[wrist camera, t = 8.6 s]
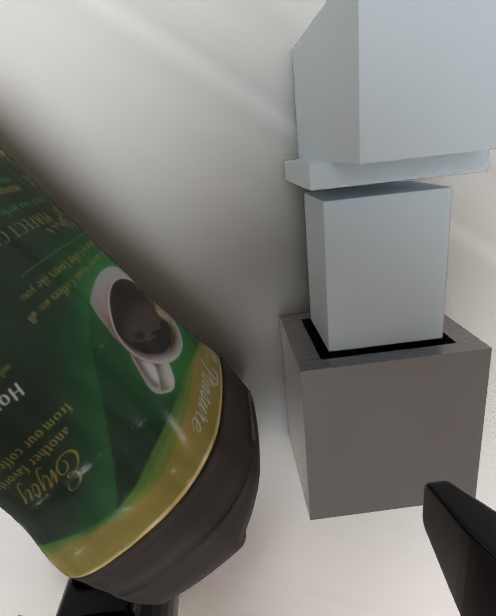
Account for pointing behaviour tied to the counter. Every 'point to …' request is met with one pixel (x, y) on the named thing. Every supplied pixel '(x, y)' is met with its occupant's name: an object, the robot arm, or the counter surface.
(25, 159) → the counter surface
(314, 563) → the counter surface
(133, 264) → the counter surface
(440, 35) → the end cover
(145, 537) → the coffee jar
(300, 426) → the housing
